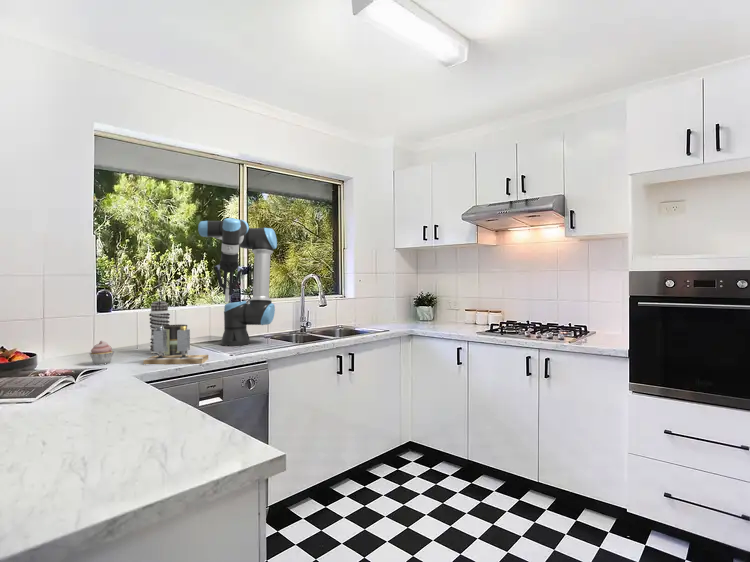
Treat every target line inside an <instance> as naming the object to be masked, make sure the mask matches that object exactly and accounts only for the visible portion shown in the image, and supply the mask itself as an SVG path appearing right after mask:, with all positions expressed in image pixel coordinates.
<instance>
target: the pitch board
mask: <svg viewBox="0 0 750 562" xmlns="http://www.w3.org/2000/svg"><path fill="white" fill-rule="evenodd" d="M208 360H209V355H208V354H187V355H186V356H185V357H182V355H175V356H164V355H162V358H158V355H152V356H150V357H147V358H144V359H143V363H142V364H164V365H196V364H197V365H198V364H199V365H201V364H204V363H205V362H206V361H208Z"/></svg>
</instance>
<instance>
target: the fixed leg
mask: <svg viewBox="0 0 750 562" xmlns="http://www.w3.org/2000/svg"><path fill="white" fill-rule="evenodd" d="M153 347H154V352H158V355H157V356H158V358H162V356H163V353H162V352H163V351H166V350H167V337H166V330H163V326H158V327H157V330H155V331H153Z"/></svg>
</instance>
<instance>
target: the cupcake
mask: <svg viewBox="0 0 750 562" xmlns="http://www.w3.org/2000/svg"><path fill="white" fill-rule="evenodd" d="M114 353H115V351H113V349H112V347H111V346H110V345H109V344H108V342H106V341H103V340H100V341H99V343H97V344H95V345H94V346H93V347H92V348H91V350H90V352H89V353H88V354H89V356H90V358H91V360H92V363H93V365H94V364H104V365H106V364H105V363H109V364H110V363H111V361H112V358H113V356H114Z"/></svg>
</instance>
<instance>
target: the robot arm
mask: <svg viewBox="0 0 750 562" xmlns="http://www.w3.org/2000/svg"><path fill="white" fill-rule="evenodd" d="M197 226H198V227H197V230H198V234H199V236H200V237H203V238H204V237H205V238H213V239H218V240H221V254H220V262H219V264H217V265H215V266H214V268H213V269H214V270H215V272H216V278H217V282H218V286H219V288H220V287H221V288H222V289H223V290H222V295H224V303H226V304H224V307H223V309H224V311H223V322H224V324H223V326H224V330H223V334H222V337H221V340H220V345H221V344H222V345H221V346H224V345H229V346H228V347H236V346H237V347H238V346H239V345H240V346H246V345H249V344H250V343H251V338H250V336H249V333H248V330H247V326H268V325H271V324H272V322H273V320H274V317H275V314H276V309H275V308H276V306H275V304H274V303H273V301H272V299H271V298H270V276H271V274H270V273H271V255H272V254H273V253H274V250H275V249H277V247H278V239H277V235H276V232H275V230H274V229H273V228H270V227H251V228H250V227H249V223H248V222H247V221H246V220H244V219H238V218H233V217H229V218H224V219H223V220H201V221H199V223H198V225H197ZM240 248H241V249H246V250H247V249H248V250H251V252H252V253H253V254H254V259H253V260H254V261H253V262H254V263H253V284H252V289H253V291H252V297H251V298H250V299H249V303H248V302H247V301H246V300H242V301H234V302H229V301H230V296H232V294H233V289H236V288H237V286H238V282H239V280H240V279H239V278H240V276H241V274H242V273H243V271H244V267H241V266H240V265H239V253H240V252H239V251H240ZM221 270H222V271H223V279H222V274H221ZM236 270H237V274H236V278H235V280H234V272H236ZM228 274H229V280H228ZM228 281H229V282H228ZM233 281H234V282H233ZM228 283H229V284H228Z"/></svg>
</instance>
